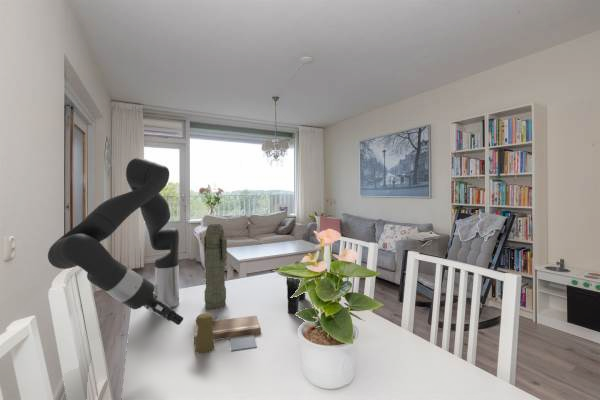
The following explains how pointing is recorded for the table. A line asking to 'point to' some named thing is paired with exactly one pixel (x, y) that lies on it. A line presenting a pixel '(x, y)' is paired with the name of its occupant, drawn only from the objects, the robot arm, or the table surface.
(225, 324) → the walnut board
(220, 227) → the thermos
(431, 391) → the table surface
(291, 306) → the ceramic cat
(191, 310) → the table surface
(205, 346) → the olive game pawn
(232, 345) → the slate end mark
